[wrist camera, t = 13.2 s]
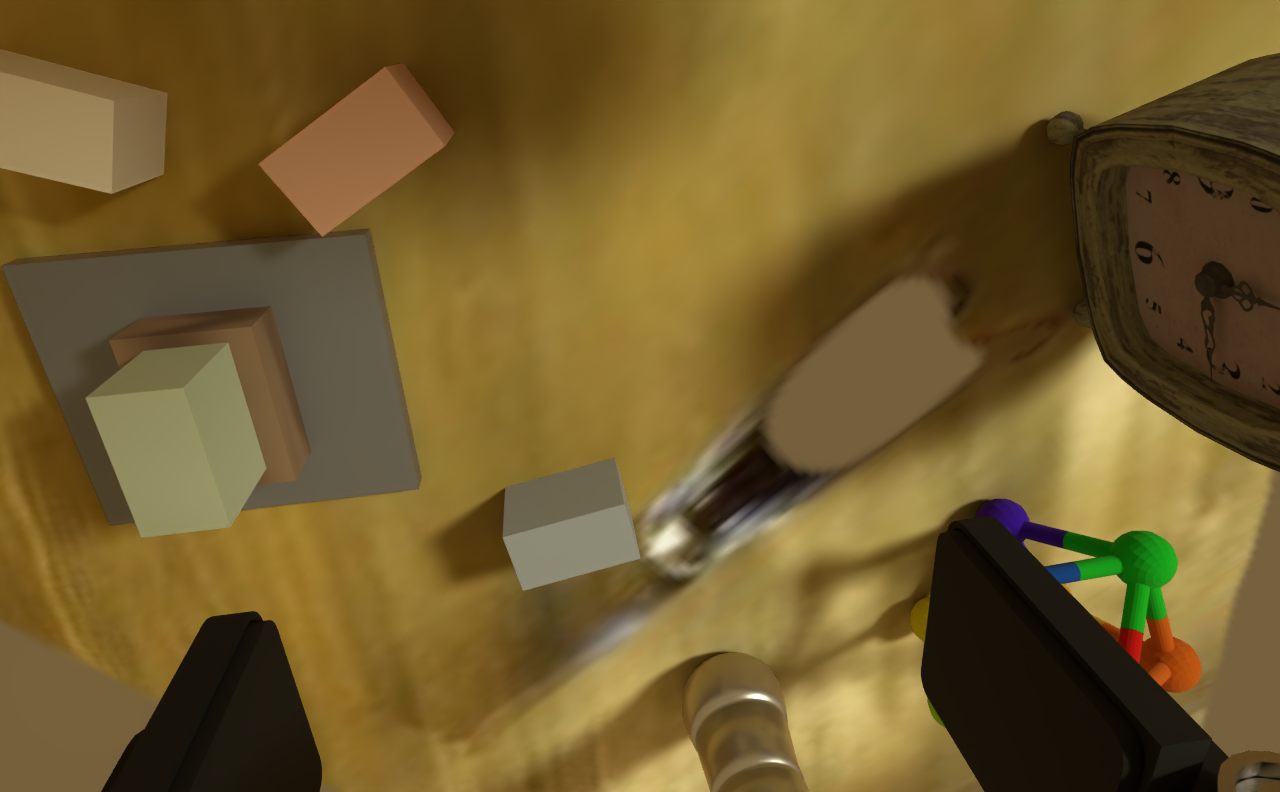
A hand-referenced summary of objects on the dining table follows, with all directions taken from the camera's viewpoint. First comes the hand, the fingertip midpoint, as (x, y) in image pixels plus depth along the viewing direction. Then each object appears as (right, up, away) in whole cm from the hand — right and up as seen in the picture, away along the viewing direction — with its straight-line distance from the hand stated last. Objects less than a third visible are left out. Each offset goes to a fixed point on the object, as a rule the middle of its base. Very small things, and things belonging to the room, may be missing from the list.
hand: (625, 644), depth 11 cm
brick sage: (-20, +3, +25) cm, 32 cm away
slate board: (-20, +4, +29) cm, 35 cm away
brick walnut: (-20, +4, +28) cm, 34 cm away
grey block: (-4, -2, +34) cm, 35 cm away
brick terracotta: (-12, +15, +25) cm, 32 cm away
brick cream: (-24, +16, +23) cm, 37 cm away
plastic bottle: (+6, -15, +42) cm, 45 cm away
